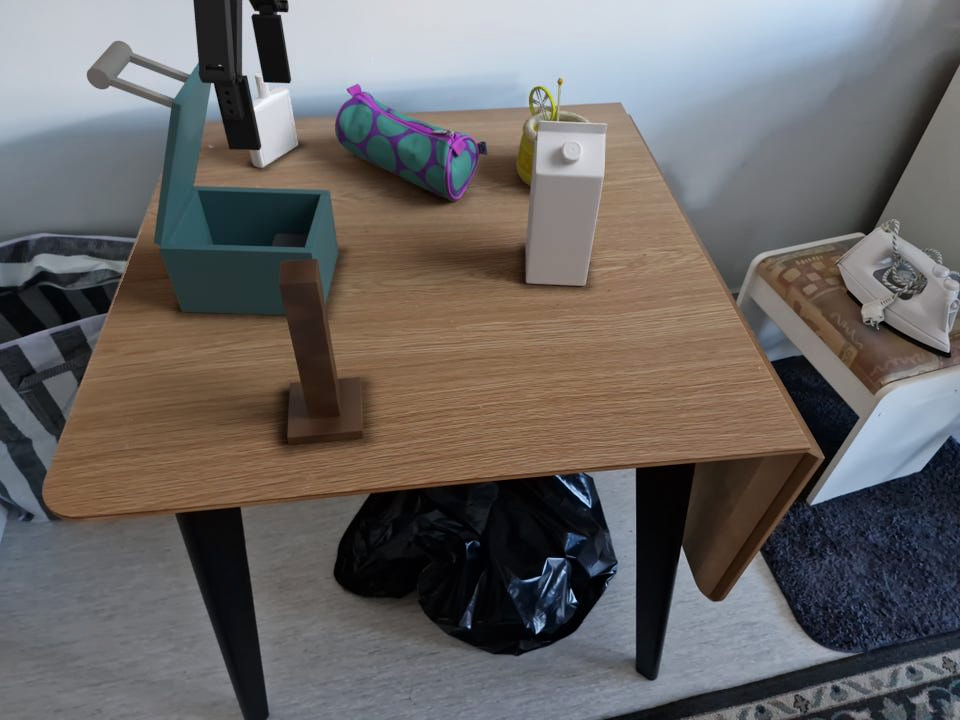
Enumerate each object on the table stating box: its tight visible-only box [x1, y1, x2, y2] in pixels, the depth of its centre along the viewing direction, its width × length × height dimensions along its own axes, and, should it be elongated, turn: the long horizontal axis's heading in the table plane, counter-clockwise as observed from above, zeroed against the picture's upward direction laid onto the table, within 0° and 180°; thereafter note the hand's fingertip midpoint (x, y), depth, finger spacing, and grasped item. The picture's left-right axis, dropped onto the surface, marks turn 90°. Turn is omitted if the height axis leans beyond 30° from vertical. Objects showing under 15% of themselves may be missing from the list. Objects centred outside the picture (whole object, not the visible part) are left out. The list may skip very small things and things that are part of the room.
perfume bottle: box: [249, 71, 299, 169], centre depth 101 cm, size 8×2×12 cm, turn 149°
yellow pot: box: [516, 77, 591, 187], centre depth 99 cm, size 13×11×12 cm
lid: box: [86, 40, 212, 246], centre depth 72 cm, size 17×12×9 cm
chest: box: [158, 185, 340, 316], centre depth 82 cm, size 16×12×9 cm
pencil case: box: [334, 83, 488, 202], centre depth 99 cm, size 21×9×10 cm, turn 54°
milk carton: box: [525, 121, 608, 287], centre depth 82 cm, size 7×7×19 cm
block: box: [271, 234, 308, 248], centre depth 83 cm, size 4×4×4 cm
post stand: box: [279, 259, 364, 446], centre depth 65 cm, size 7×7×18 cm
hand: (262, 112), depth 70 cm, fingers open, 13 cm apart
